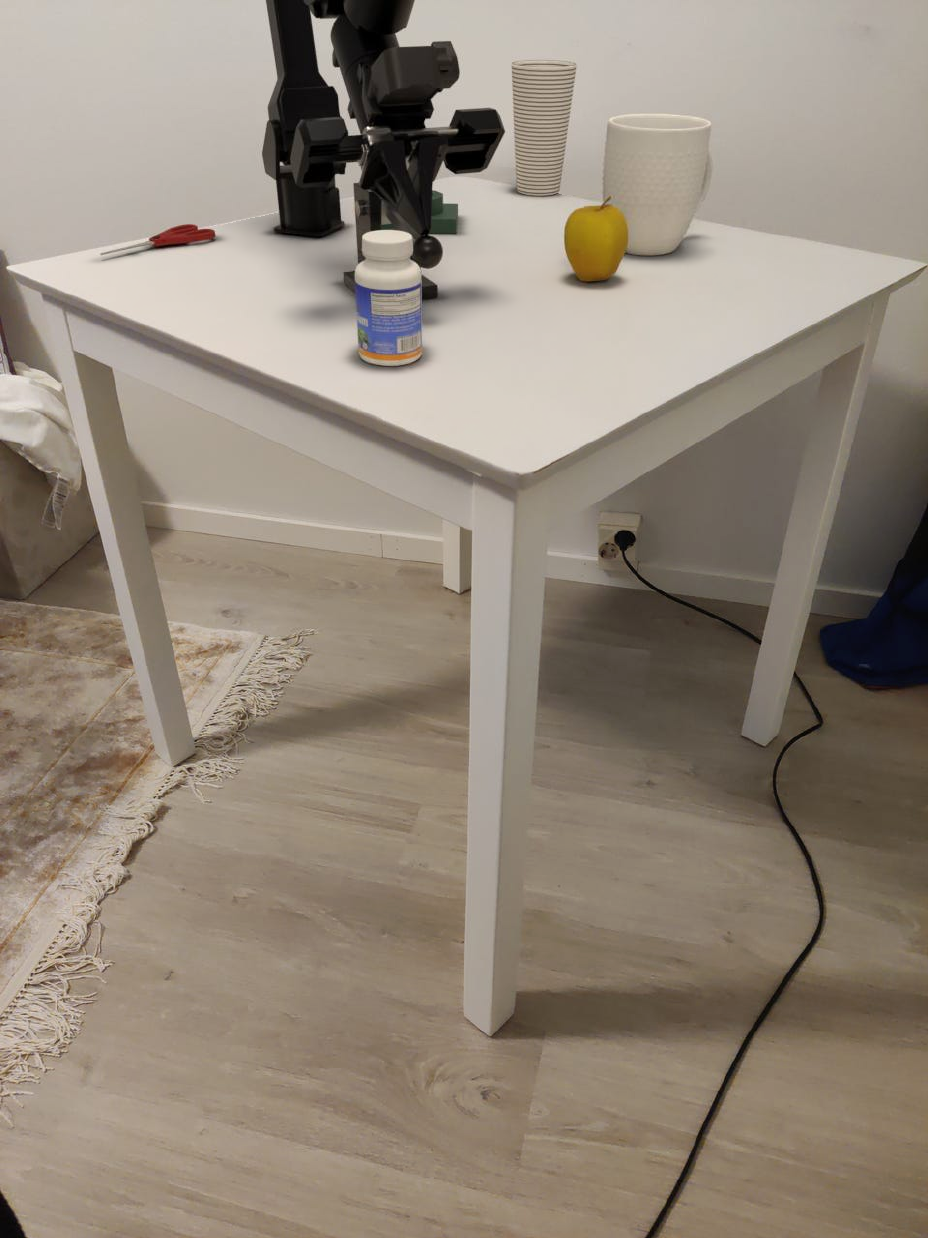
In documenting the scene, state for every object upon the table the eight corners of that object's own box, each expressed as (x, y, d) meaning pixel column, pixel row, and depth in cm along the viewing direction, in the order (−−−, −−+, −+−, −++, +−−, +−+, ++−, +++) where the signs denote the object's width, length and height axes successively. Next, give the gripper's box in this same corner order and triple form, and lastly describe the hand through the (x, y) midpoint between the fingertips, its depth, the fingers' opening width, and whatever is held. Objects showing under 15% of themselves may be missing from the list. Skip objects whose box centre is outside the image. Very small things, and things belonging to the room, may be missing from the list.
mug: (662, 226, 117) (677, 106, 109) (735, 245, 110) (756, 118, 102) (576, 246, 109) (585, 118, 102) (648, 267, 102) (664, 132, 95)
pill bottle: (359, 345, 82) (352, 227, 77) (421, 343, 83) (419, 226, 77) (358, 368, 78) (351, 245, 72) (424, 366, 78) (422, 243, 73)
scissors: (219, 238, 111) (218, 229, 110) (115, 263, 102) (113, 253, 101) (190, 230, 114) (189, 221, 113) (87, 254, 105) (85, 245, 104)
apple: (630, 275, 100) (639, 193, 95) (612, 291, 95) (620, 206, 91) (573, 267, 102) (579, 187, 98) (552, 283, 97) (557, 200, 93)
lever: (446, 272, 85) (449, 241, 83) (417, 275, 84) (419, 244, 82) (394, 212, 93) (395, 183, 91) (367, 215, 92) (367, 185, 90)
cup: (503, 196, 130) (507, 65, 121) (511, 183, 137) (515, 58, 128) (565, 199, 129) (574, 67, 120) (570, 186, 136) (578, 60, 127)
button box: (372, 232, 114) (371, 201, 112) (379, 216, 120) (377, 187, 118) (456, 233, 114) (456, 202, 112) (458, 217, 120) (458, 187, 118)
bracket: (437, 297, 94) (436, 190, 88) (371, 306, 91) (365, 196, 85) (407, 275, 99) (404, 174, 94) (343, 283, 97) (336, 179, 91)
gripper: (285, 4, 75) (340, 183, 73) (498, 0, 81) (554, 164, 79) (270, 105, 85) (318, 263, 83) (459, 94, 91) (508, 241, 90)
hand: (425, 232), depth 84 cm, fingers closed
